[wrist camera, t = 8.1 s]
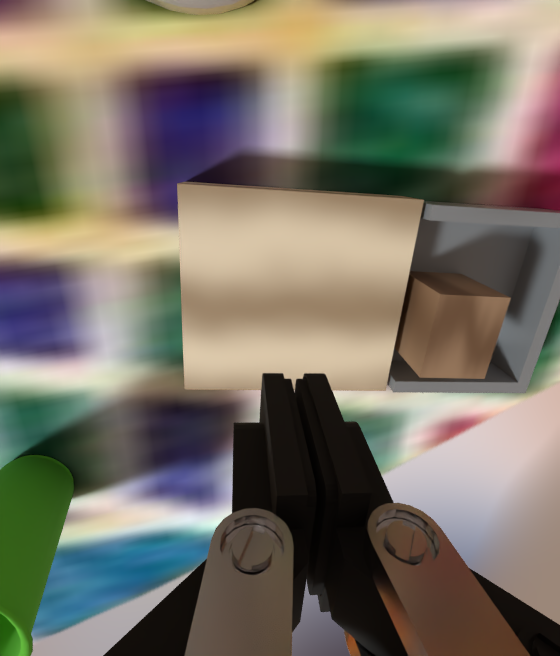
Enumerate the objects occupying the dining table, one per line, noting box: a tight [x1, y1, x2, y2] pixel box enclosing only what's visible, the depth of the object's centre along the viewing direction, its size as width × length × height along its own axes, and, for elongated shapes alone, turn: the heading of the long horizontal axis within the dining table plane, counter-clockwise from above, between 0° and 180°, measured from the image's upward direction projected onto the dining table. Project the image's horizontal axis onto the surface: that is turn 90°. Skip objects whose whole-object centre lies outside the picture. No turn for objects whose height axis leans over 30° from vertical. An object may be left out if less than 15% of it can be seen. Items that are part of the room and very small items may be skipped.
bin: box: [387, 201, 560, 393], centre depth 24 cm, size 12×9×4 cm
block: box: [394, 271, 511, 379], centre depth 23 cm, size 5×5×4 cm
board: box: [177, 182, 424, 391], centre depth 23 cm, size 12×13×3 cm
